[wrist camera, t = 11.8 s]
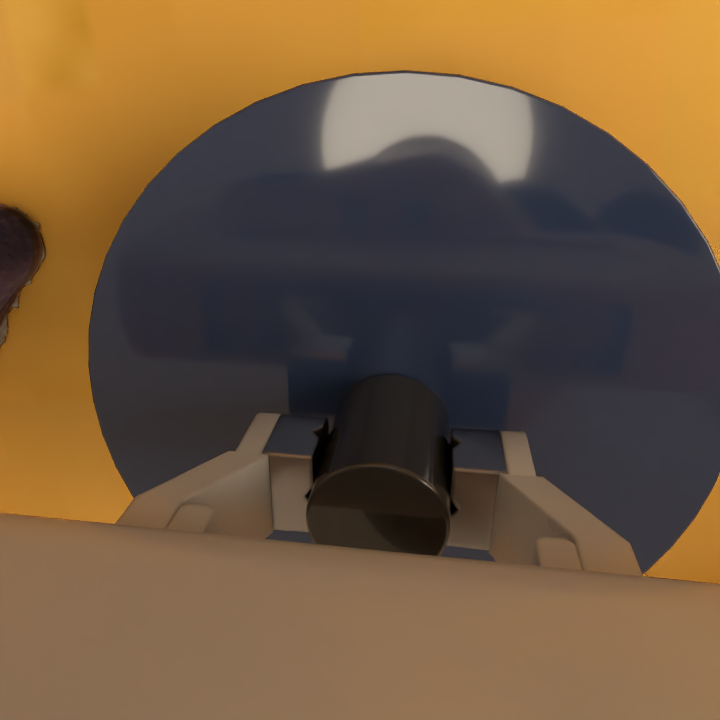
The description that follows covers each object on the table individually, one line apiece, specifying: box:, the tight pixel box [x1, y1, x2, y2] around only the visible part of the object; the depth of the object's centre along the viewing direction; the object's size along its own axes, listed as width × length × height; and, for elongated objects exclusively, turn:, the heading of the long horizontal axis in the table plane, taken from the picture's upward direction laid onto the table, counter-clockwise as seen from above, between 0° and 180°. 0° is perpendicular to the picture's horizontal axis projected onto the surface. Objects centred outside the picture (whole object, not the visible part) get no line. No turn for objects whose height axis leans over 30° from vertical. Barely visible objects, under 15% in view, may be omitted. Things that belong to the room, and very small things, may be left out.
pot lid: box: [89, 70, 720, 575], centre depth 13 cm, size 15×15×5 cm
